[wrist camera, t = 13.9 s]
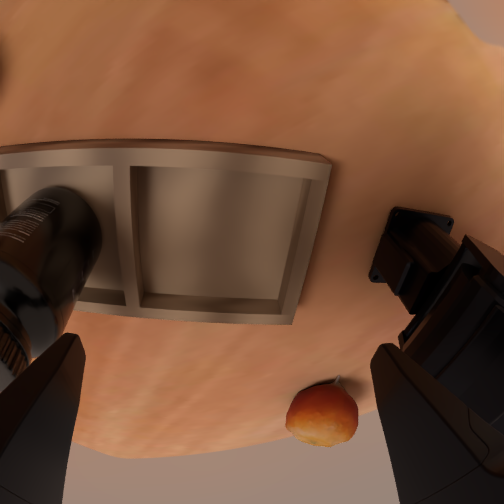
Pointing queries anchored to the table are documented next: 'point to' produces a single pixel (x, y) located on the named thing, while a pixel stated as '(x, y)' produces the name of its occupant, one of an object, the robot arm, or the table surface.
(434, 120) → the table surface
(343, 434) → the fruit
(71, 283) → the supplement bottle
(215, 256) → the holder
